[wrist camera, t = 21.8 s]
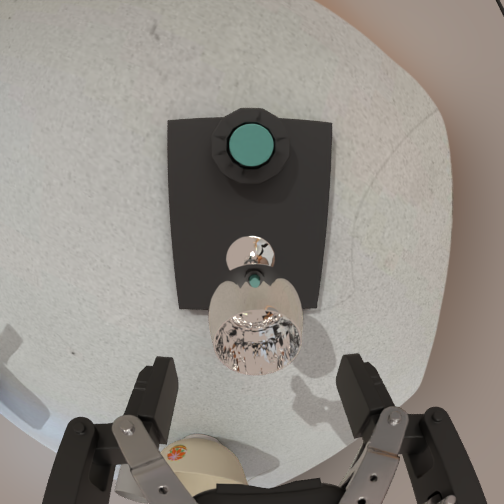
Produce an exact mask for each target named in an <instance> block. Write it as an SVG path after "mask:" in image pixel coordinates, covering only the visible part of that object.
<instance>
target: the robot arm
mask: <svg viewBox="0 0 504 504" xmlns="http://www.w3.org/2000/svg"><path fill="white" fill-rule="evenodd" d="M496 2H497V4H498V6H499V8H500V10H501V12H502V14H503V16H504V8H503V6H502V4H501V2H500V0H496ZM336 386H337V389H338V392H339V395H340V398H341V401H342V404H343V407H344V410H345V413H346V415H347V418H348V421H349V424H350V427H351V430H352V433H353V436H354V439H355V438H359V437H362V438H363V443H362V445H361V447H360V449H359V451H358V453H357V455H356V457H355V459H354V461H353V463H352V465H351V467H350V469H349V470H348V472H347V474H346V476H345V477H344V478H343V480H342V481H341V483H340V485H339V486H336V485H332V484H327V483H321V481H320V478H316V479H308V480H301V481H294V482H291V483H288V484H285V485H281V486H278V487H274V488H269V489H268V488H261V487H255V486H250V485H245V484H219V483H216V488H215V489H210V490H206V491H203V492H201V493H198V494H196V495H195V496H193V497H192V496H191V494H190V493H189V492H188V491H187V489H186V488H185V487H184V485H183V484H182V483H181V481H180V480H179V479H178V477H177V476H176V475H175V473H174V472H173V470H172V469H171V467H170V466H169V464H168V463H167V462H166V460H165V459H164V457H163V456H162V455H161V453H160V452H159V450H158V449H159V444H166V445H167V441H168V435H169V430H170V426H171V421H172V416H173V411H174V406H175V402H176V397H177V393H178V377H177V373H176V368H175V364H174V360H173V358H172V357H160V356H157V357H156V359H155V362H154V364H153V366H146V367H145V368H144V369H143V370H142V371H141V372H140V373H139V375H138V378H137V381H136V383H135V386H134V389H133V391H132V394H131V397H130V399H129V402H128V405H127V407H126V410H125V413H124V415H123V416H120V417H118V418H117V419H116V420H115V421H114V422H113V423H108V424H93V423H92V421H91V420H89V419H88V418H85V417H77V418H74V419H72V420H71V421H70V422H69V423H68V425H67V428H66V430H65V433H64V436H63V438H62V441H61V444H60V446H59V449H58V452H57V455H56V458H55V461H54V464H53V467H52V470H51V474H50V477H49V480H48V483H47V487H46V491H45V494H44V498H43V502H42V504H109V498H110V492H111V487H112V482H113V476H114V471H115V467H116V465H118V464H128V465H129V467H130V472H131V474H132V476H133V478H134V480H135V482H136V483H137V485H138V487H139V488H140V490H141V492H142V493H143V495H144V497H145V498H146V500H147V501H148V503H149V504H382V502H383V500H384V498H385V495H386V494H387V491H388V489H389V486H390V484H391V482H392V479H393V477H394V474H395V471H396V469H397V466H398V464H399V461H400V457H399V456H398V454H402V455H403V458H404V461H405V464H406V467H407V471H408V474H409V477H410V480H411V483H412V487H413V490H414V494H415V497H416V501H417V504H487V502H486V499H485V496H484V493H483V491H482V488H481V485H480V483H479V480H478V478H477V475H476V473H475V470H474V468H473V466H472V463H471V461H470V459H469V456H468V454H467V452H466V450H465V448H464V445H463V443H462V442H461V439H460V437H459V435H458V433H457V431H456V429H455V427H454V425H453V423H452V421H451V419H450V417H449V415H448V414H447V412H446V411H445V410H444V409H442V408H440V407H431V408H429V409H428V410H427V411H426V412H425V414H407V413H406V412H405V411H404V410H403V409H402V408H400V407H396V406H395V405H394V403H393V401H392V399H391V397H390V395H389V393H388V391H387V389H386V387H385V385H384V384H383V381H382V379H381V378H380V376H379V374H378V372H377V370H376V368H375V367H374V366H372V365H371V364H370V363H369V362H365V363H364V362H363V360H362V358H361V356H360V354H358V353H356V354H347V355H343V356H342V359H341V363H340V366H339V369H338V373H337V376H336Z"/></svg>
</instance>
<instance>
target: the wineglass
mask: <svg viewBox="0 0 504 504" xmlns="http://www.w3.org/2000/svg"><path fill="white" fill-rule="evenodd" d="M226 262H227V266H228V268H229V270H230V271H229V272H228V273H226V274H225V275H224V276H223V277H222V278H221V279H220V280H219V282H218V283H217V285H216V286H215V288H214V290H213V293H212V295H211V298H210V302H209V309H208V321H209V330H210V335H211V339H212V343H213V347H214V350H215V353H216V355H217V357H218V358H219V360H220V361H221V362H222V363H223V364H224V365H225V366H227V367H228V368H229V369H231V370H234V371H236V372H238V373H242V374H247V375H265V374H269V373H273V372H276V371H278V370H281V369H282V368H284V367H286V366H287V365H289V364H290V363H291V362H292V361H293V360H294V359H295V358H296V356H297V355H298V353H299V351H300V348H301V343H302V329H303V312H302V306H301V301H300V298H299V295H298V292H297V290H296V288H295V287H294V285H293V284H292V282H291V281H290V280H289V278H288V277H287V276H286V275H284V274H283V273H282V272H281V271H279V270H278V269H276V268H274V267H273V266H274V263H275V253H274V250H273V248H272V246H271V245H270V244H269V243H268V242H267V241H266V240H265V239H263V238H261V237H258V236H244V237H241V238H239V239H237V240H236V241H234V242H233V243H232V244H231V245H230V247H229V249H228V251H227V254H226Z"/></svg>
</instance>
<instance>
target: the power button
mask: <svg viewBox="0 0 504 504" xmlns="http://www.w3.org/2000/svg"><path fill="white" fill-rule="evenodd" d="M273 147H274V143H273V139H272V136H271V134H270V133H269V132H268V130H266V129H265V128H264V127H262V126H260V125H257V124H246V125H243V126H241V127H239V128H238V129H236V130H235V131H234V133H233V134H232V136H231V138H230V142H229V148H230V152H231V154H232V156H233V158H234V159H235V160H236V161H237V162H239V163H240V164H242V165H245V166H258V165H261V164H263V163H264V162H266V161H267V160H268V159H269V157H270V156H271V154H272V152H273Z"/></svg>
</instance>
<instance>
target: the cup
mask: <svg viewBox="0 0 504 504" xmlns="http://www.w3.org/2000/svg"><path fill="white" fill-rule="evenodd" d="M115 492H116V493H117V494H118V495H120V496H122V497H124V498H127V499H130V500H133V501H136V502H140V503H147V504H148V501H147V500H146V498H145V497H144V495H143V493H142V492H141V490H140V488H139V487H138V485H137V483H136V482H135V480H134V478H133V476H132V474H131V472H130V467H129V465H128V464H121V467H120V471H119V475H118V478H117V482H116V486H115Z"/></svg>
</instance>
